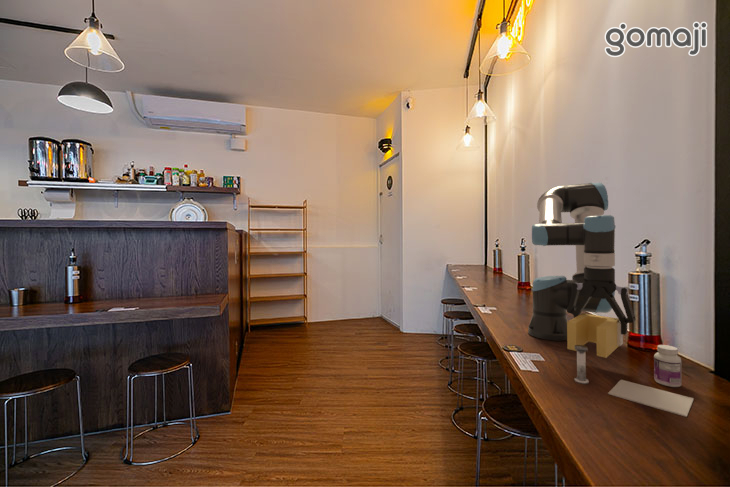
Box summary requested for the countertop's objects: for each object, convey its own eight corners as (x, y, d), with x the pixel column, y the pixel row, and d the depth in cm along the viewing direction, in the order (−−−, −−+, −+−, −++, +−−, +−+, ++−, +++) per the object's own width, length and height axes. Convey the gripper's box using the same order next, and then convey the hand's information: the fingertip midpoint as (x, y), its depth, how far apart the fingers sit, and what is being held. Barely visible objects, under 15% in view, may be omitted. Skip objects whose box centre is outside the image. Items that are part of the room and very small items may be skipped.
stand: (576, 377, 91) (576, 343, 91) (590, 381, 89) (590, 346, 89) (572, 381, 89) (572, 346, 89) (586, 385, 87) (586, 349, 86)
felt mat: (620, 380, 89) (620, 379, 89) (693, 399, 78) (693, 398, 78) (608, 394, 82) (608, 392, 82) (686, 417, 71) (686, 415, 71)
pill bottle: (655, 377, 91) (654, 342, 91) (681, 382, 87) (681, 346, 87) (653, 383, 87) (652, 347, 87) (681, 389, 83) (680, 352, 83)
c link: (582, 338, 104) (582, 313, 103) (619, 345, 97) (619, 318, 96) (567, 348, 96) (567, 321, 95) (606, 357, 88) (606, 328, 88)
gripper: (554, 265, 105) (554, 335, 106) (643, 271, 88) (643, 353, 89) (563, 263, 109) (563, 329, 110) (649, 268, 92) (649, 346, 93)
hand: (599, 340), depth 100 cm, fingers closed on c link, 9 cm apart
